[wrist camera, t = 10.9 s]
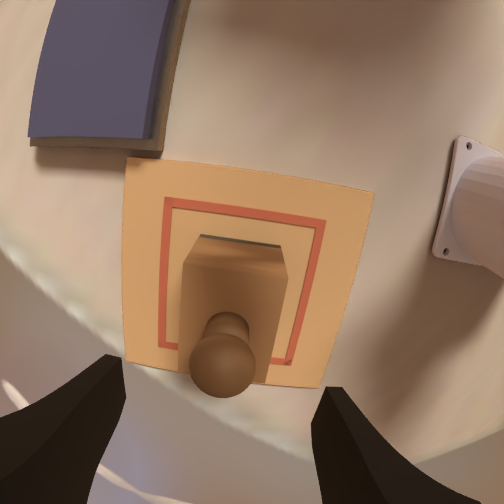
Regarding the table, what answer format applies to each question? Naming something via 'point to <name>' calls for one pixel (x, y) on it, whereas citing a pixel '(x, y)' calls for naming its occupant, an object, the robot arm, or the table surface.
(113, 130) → the ink pad
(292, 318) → the card board
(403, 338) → the table surface
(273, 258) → the stamp
